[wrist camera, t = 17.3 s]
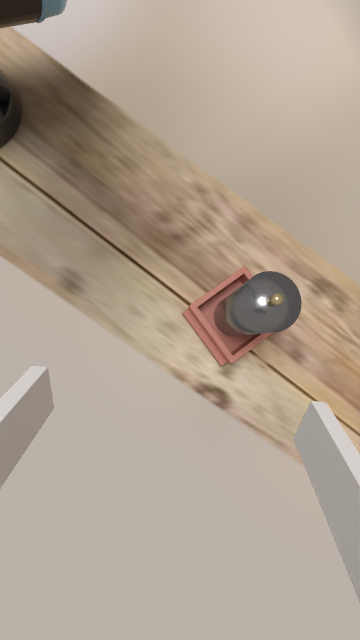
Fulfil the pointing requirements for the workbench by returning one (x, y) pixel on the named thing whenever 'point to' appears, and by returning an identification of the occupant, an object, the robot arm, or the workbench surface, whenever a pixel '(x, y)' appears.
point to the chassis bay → (205, 327)
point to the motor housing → (259, 306)
